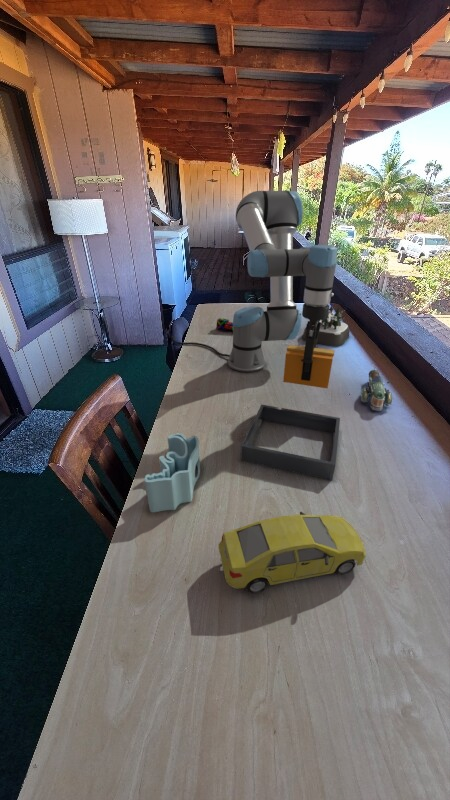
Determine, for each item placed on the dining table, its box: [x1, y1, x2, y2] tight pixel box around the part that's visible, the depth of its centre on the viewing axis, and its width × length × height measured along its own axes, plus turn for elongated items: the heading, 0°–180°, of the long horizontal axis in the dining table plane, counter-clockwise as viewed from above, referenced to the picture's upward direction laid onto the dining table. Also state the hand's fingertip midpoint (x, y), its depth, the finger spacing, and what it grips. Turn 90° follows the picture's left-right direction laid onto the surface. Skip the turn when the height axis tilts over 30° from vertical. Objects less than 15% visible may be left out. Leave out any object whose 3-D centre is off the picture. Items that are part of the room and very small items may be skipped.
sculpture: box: [215, 317, 233, 331], centre depth 180 cm, size 9×5×30 cm
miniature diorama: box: [302, 305, 351, 347], centre depth 169 cm, size 20×20×17 cm
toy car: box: [218, 511, 367, 594], centre depth 66 cm, size 12×28×10 cm, turn 102°
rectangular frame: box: [240, 404, 341, 481], centre depth 99 cm, size 24×22×5 cm
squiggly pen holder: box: [144, 432, 201, 513], centre depth 85 cm, size 18×10×9 cm, turn 175°
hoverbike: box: [360, 366, 393, 413], centre depth 123 cm, size 10×25×8 cm, turn 163°
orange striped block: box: [282, 344, 336, 389], centre depth 111 cm, size 14×8×11 cm, turn 71°
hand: (307, 374), depth 113 cm, fingers closed on orange striped block, 7 cm apart
